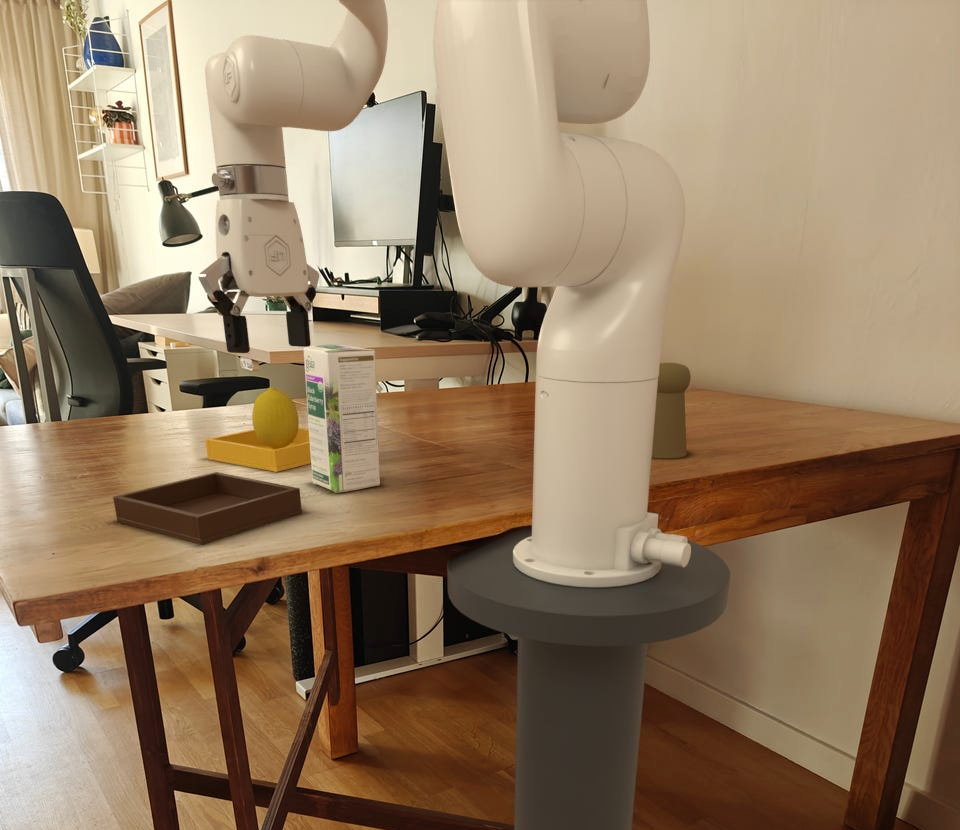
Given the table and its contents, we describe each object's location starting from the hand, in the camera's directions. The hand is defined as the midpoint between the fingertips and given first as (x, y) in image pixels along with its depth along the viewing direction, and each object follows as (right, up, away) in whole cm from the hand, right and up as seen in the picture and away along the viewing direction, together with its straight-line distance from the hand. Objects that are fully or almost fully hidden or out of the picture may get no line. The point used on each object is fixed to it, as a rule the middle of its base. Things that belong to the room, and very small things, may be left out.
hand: (270, 349), depth 103 cm
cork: (+48, -11, +7) cm, 50 cm away
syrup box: (+10, -18, -8) cm, 22 cm away
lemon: (0, -11, +5) cm, 13 cm away
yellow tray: (0, -12, +6) cm, 13 cm away
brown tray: (-1, -23, -19) cm, 30 cm away
